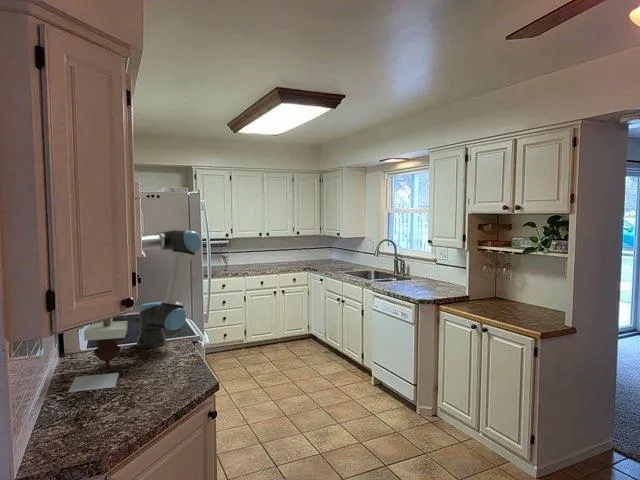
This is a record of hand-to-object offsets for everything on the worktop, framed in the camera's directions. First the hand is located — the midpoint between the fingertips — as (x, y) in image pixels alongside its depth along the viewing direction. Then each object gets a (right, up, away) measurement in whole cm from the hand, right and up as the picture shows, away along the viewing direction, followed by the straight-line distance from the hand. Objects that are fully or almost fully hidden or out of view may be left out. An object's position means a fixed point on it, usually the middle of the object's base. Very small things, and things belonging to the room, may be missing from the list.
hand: (106, 321), depth 195 cm
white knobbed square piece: (0, -6, 0) cm, 6 cm away
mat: (+3, -23, -15) cm, 28 cm away
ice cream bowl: (0, -22, +1) cm, 22 cm away
